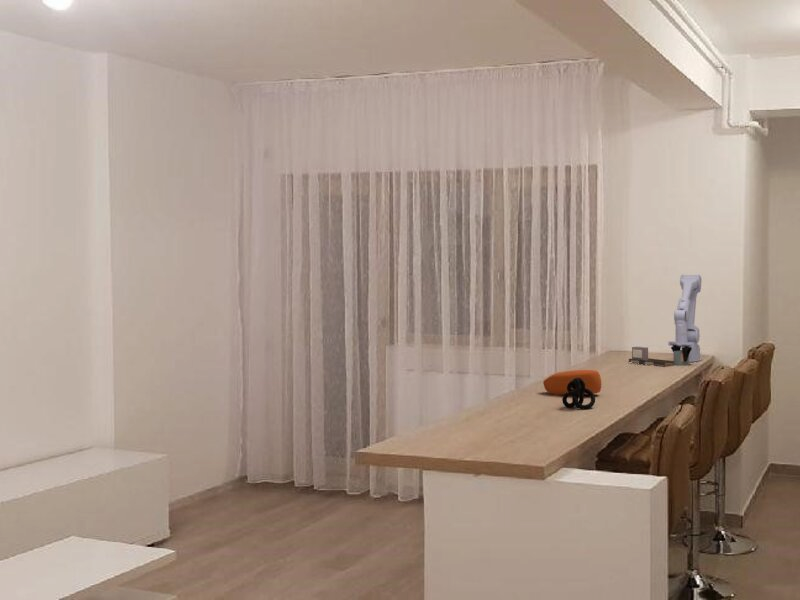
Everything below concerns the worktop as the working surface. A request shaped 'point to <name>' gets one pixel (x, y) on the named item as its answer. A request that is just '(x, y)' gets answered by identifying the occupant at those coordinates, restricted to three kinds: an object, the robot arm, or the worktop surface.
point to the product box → (679, 358)
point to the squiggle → (578, 394)
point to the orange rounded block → (560, 380)
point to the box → (640, 353)
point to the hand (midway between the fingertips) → (681, 360)
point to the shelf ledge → (654, 362)
